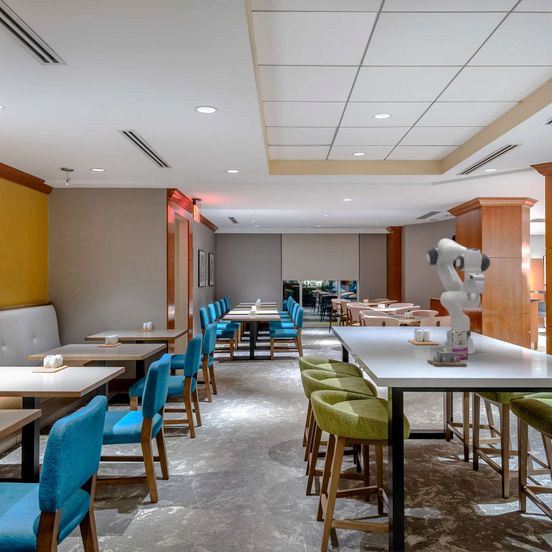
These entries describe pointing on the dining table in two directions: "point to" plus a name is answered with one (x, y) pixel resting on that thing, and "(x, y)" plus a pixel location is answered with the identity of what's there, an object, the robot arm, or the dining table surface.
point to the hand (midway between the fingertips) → (472, 301)
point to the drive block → (446, 356)
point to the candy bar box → (458, 343)
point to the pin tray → (452, 364)
